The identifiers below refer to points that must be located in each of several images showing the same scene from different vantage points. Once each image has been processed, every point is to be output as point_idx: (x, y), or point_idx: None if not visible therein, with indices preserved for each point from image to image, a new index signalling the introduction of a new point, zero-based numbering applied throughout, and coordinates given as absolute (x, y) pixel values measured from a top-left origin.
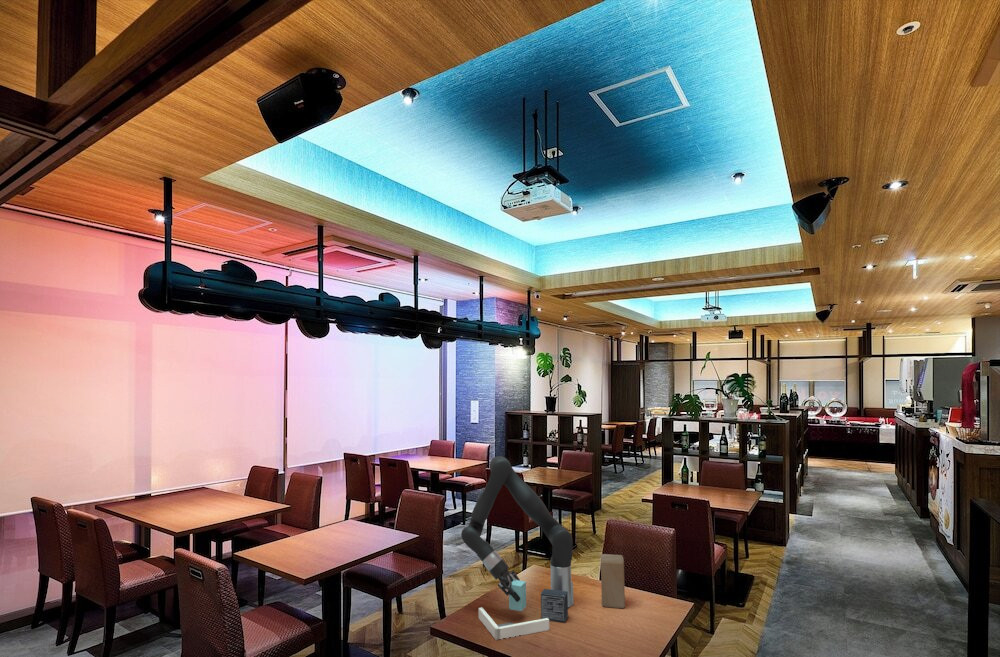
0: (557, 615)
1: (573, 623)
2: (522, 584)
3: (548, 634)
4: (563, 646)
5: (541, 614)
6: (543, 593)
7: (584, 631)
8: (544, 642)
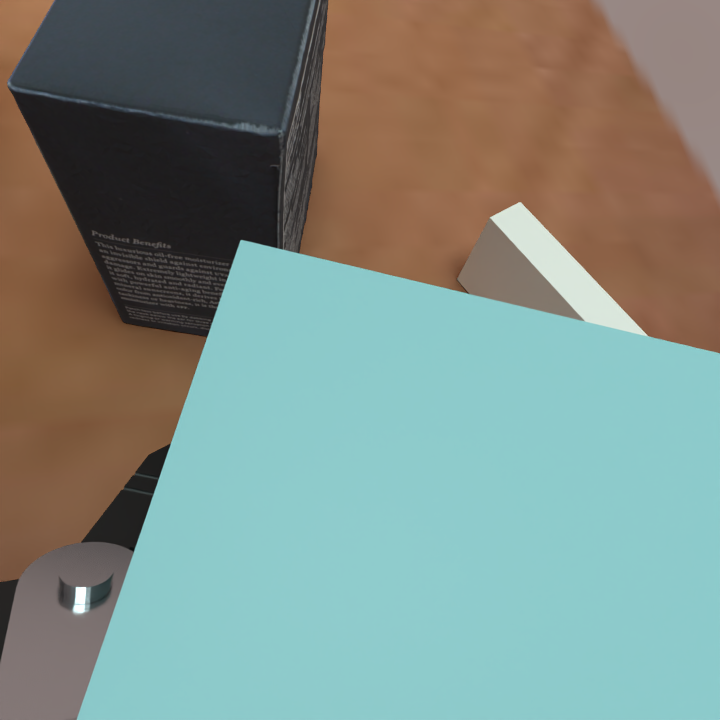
0: (311, 162)
1: None
2: (582, 332)
3: None
4: (682, 173)
5: None
6: (279, 90)
7: (421, 55)
8: (697, 289)
